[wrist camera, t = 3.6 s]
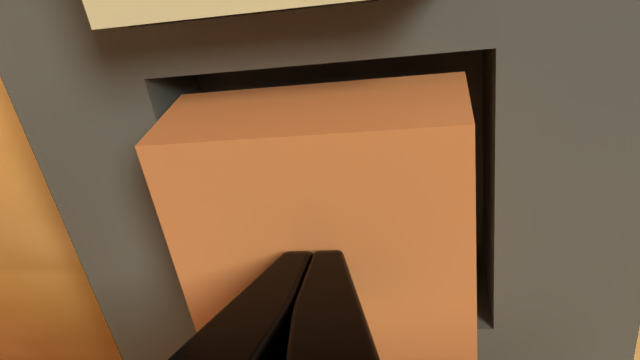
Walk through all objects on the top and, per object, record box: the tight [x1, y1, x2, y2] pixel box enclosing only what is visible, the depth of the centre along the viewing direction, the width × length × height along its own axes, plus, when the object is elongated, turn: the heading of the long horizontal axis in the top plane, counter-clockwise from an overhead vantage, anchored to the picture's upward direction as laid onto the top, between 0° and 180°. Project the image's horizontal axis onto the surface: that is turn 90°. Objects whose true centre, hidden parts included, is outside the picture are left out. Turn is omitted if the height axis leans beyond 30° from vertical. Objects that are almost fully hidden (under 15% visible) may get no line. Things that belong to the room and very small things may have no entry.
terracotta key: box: [135, 71, 477, 360], centre depth 9 cm, size 4×4×2 cm
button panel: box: [0, 0, 640, 360], centre depth 11 cm, size 18×10×3 cm, turn 8°
